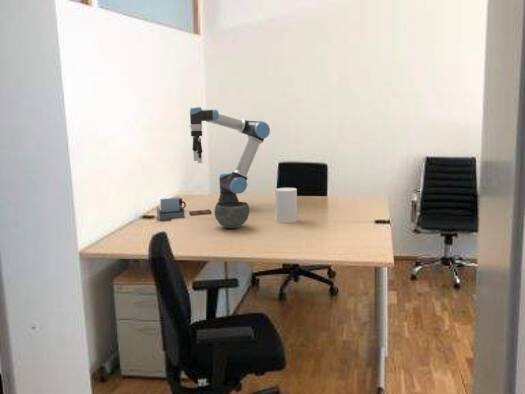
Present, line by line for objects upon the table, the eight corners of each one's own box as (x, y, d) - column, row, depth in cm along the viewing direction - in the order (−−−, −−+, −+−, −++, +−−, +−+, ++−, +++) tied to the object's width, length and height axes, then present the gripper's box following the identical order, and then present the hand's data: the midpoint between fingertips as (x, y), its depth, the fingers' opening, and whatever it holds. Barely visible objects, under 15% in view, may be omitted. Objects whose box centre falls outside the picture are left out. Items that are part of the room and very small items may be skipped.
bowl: (242, 232, 339) (241, 207, 336) (209, 230, 346) (208, 205, 344) (254, 224, 358) (254, 200, 356) (223, 222, 366) (222, 199, 363)
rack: (180, 215, 391) (180, 204, 390) (184, 218, 379) (184, 208, 378) (157, 217, 387) (156, 206, 385) (159, 221, 374) (159, 210, 373)
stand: (209, 213, 394) (209, 209, 394) (211, 215, 388) (211, 211, 387) (189, 215, 390) (188, 210, 390) (191, 217, 384) (191, 212, 383)
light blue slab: (179, 215, 385) (178, 197, 383) (179, 215, 384) (179, 198, 382) (161, 217, 382) (160, 199, 380) (161, 217, 380) (160, 199, 378)
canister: (283, 217, 376) (282, 187, 373) (301, 219, 369) (300, 188, 365) (271, 221, 366) (270, 190, 362) (289, 223, 358) (289, 191, 354)
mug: (183, 210, 406) (182, 196, 404) (187, 212, 399) (187, 198, 398) (169, 212, 401) (168, 198, 399) (173, 214, 394) (173, 199, 392)
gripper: (187, 129, 400) (188, 160, 404) (194, 131, 377) (196, 164, 381) (198, 129, 403) (199, 159, 406) (206, 131, 379) (207, 163, 383)
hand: (197, 161), depth 394 cm, fingers open, 13 cm apart
